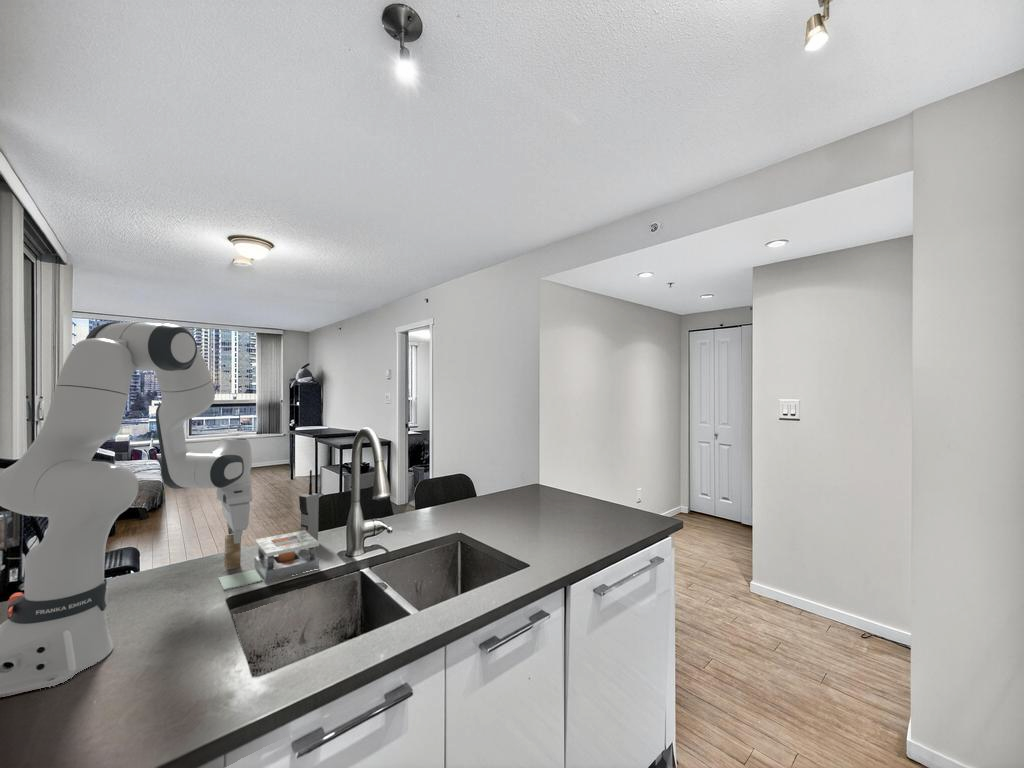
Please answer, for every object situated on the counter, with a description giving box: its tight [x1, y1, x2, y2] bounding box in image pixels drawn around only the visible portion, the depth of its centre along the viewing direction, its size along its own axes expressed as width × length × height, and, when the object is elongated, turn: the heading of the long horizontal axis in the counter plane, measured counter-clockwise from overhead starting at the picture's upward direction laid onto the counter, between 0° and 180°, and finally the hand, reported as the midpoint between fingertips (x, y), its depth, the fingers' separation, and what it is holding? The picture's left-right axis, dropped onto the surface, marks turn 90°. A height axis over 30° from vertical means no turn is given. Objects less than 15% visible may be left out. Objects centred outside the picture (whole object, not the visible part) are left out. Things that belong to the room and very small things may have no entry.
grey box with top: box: [254, 530, 320, 584], centre depth 133 cm, size 14×14×8 cm
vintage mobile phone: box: [298, 469, 320, 542], centre depth 153 cm, size 4×5×25 cm
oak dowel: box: [224, 534, 242, 571], centre depth 133 cm, size 4×4×9 cm
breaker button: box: [278, 542, 295, 563], centre depth 133 cm, size 4×4×4 cm
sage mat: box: [217, 569, 263, 591], centre depth 124 cm, size 9×9×1 cm
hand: (234, 537), depth 134 cm, fingers open, 8 cm apart
